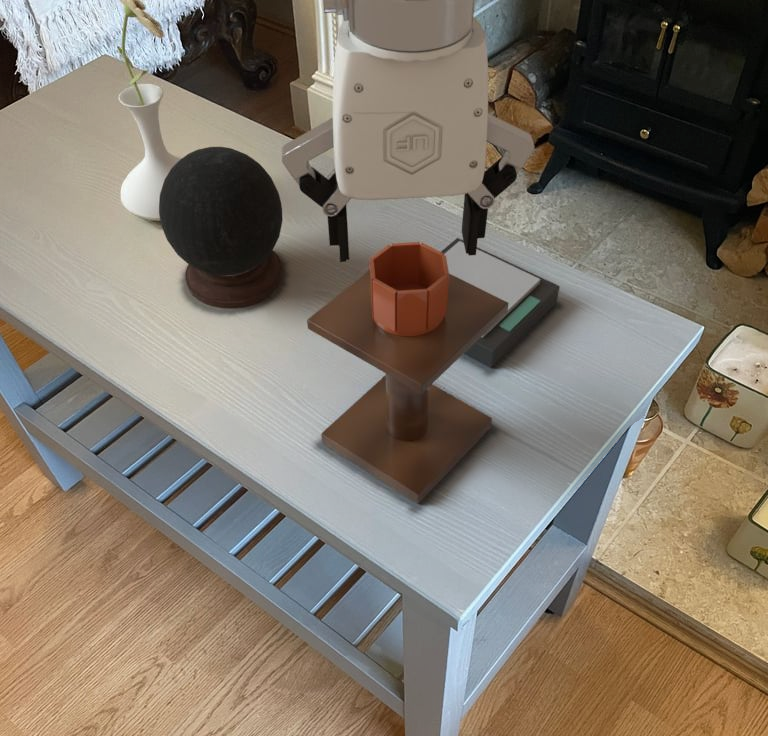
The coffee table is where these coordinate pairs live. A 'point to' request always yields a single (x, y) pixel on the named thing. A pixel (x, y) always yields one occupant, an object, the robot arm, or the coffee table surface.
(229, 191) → the black orb ornament
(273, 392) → the coffee table surface
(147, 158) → the flower in vase
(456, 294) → the stand
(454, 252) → the scale
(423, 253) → the bowl
